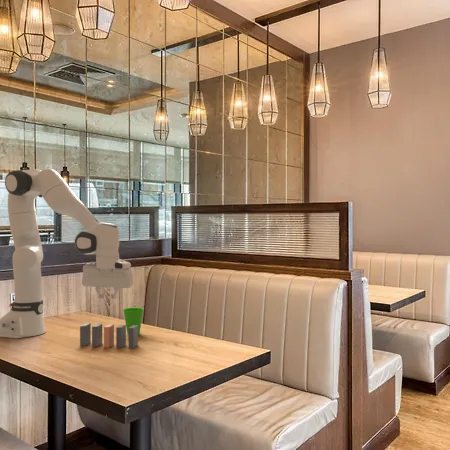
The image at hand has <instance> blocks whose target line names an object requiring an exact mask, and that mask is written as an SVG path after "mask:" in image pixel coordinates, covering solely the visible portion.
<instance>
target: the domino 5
mask: <svg viewBox="0 0 450 450" xmlns="http://www.w3.org/2000/svg"><path fill="white" fill-rule="evenodd" d="M138 345H139V335H138V325H133V326H131V327H129V335H128V349H131V350H132V349H133V350H134V349H135V348H137V347H138Z"/></svg>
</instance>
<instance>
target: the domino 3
mask: <svg viewBox="0 0 450 450" xmlns="http://www.w3.org/2000/svg"><path fill="white" fill-rule="evenodd" d="M114 345H115V324H112V323H108V324H107V325H105V326H104V327H103V348H111V347H113V346H114Z"/></svg>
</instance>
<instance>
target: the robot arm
mask: <svg viewBox="0 0 450 450" xmlns="http://www.w3.org/2000/svg"><path fill="white" fill-rule="evenodd" d="M4 186H5V189H6V190H7V192H8V193H7V214H8V220H9V221H8V222H9V228H10V234H11V236H12V240H13V244H14V249H15V250H14V251H13V254H12V259H11V260H12V272H13V280H14V301H13V302H11V303H9V304H8V307H10V310H9V311H8V312H7V313H5V314H4V315H3V316H1V317H0V338H8V339H9V338H10V339H20V338H27V337H35V336H39V335H43V334H46V333H47V330H46V327H45V321H44V315H43V313H44V300H43V281H42V278H43V277H42V265H41V263H42V262H43V259H44V252H43V251H44V250H43V245H42V241H41V236H40V231H39V224H38V217H37V212H36V211H37V210H36V206H35V200H36V198H37V197H39V198H43V199H44V201H45V203H46V204H47V206H48V207H49V208H50V209H51V210H52V211H53V212H55V213H58V214H59V215H64V216H67V217H70V218H72V219H74V220H76V221H77V222H78V223H80V225H81V226H82V227H83V228H84V230H82V231H80V232H78V233H77V234H76V236H75V238H74V248H75V250H76V251H77V252H78V253H79V254H81V255H95V258H96V259H95V260H96V261H95V263H94V262H93V263H92V262H91V263H90V262H87V263H85V264H84V265H83V266H82V272H83V273H82V279H81V284H82V286H83V287H91V288H95V292H96V293H97V295H98V296H97V298H98V299H103V298H104V293H102V291H101V289H102V288H113V291H114V292H113V293H112V294H111V300H112V299H113V300H116V299H117V294H118V293H119V291H120V288H121V289H129V288H132V286H133V285H134V276H133V271H132V269H130V268H131V267H132V264H131V262H129V261H127V260H123V259H121V258H120V253H119V247H120V232H119V228H118V227H119V226H118V225H116V224H115V223H110V222H106V221H105V222H99V221H98V219H97V218H96V217H95V216H94V215H93V213H92V212H91V210H89V208H87V206H86V205H85V204H84V203H83V202H82V201H81V200H80V199H79V197H77V196H76V194H75V193H74V191H72V189H71V187H70V186H69V184H68V183H67V182H66V180H64V178H63V177H62V176H61V175H60V174H59V173H58V172H57V171H56V170H54V169H52V168H45V169H41V170H40V169H33V168H32V169H23V170H21V169H16V170H12V171H9V172H8V173H7V174H6V176H5V180H4Z"/></svg>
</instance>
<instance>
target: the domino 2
mask: <svg viewBox="0 0 450 450" xmlns="http://www.w3.org/2000/svg"><path fill="white" fill-rule="evenodd" d="M101 345H103V323H96V324H94V325H92V326H91V347H92V348H98V347H100V346H101Z"/></svg>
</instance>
